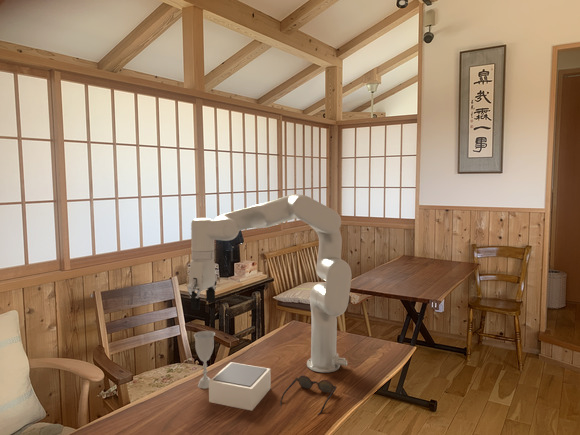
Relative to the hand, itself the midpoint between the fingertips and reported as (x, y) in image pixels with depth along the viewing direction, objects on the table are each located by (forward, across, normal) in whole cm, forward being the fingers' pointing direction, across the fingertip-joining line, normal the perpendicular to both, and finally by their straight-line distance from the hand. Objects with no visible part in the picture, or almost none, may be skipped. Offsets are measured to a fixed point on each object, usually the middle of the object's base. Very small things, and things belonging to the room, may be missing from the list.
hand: (203, 305), depth 150 cm
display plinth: (+28, +2, +15) cm, 32 cm away
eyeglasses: (+29, -3, +36) cm, 46 cm away
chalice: (+28, 0, 0) cm, 28 cm away
